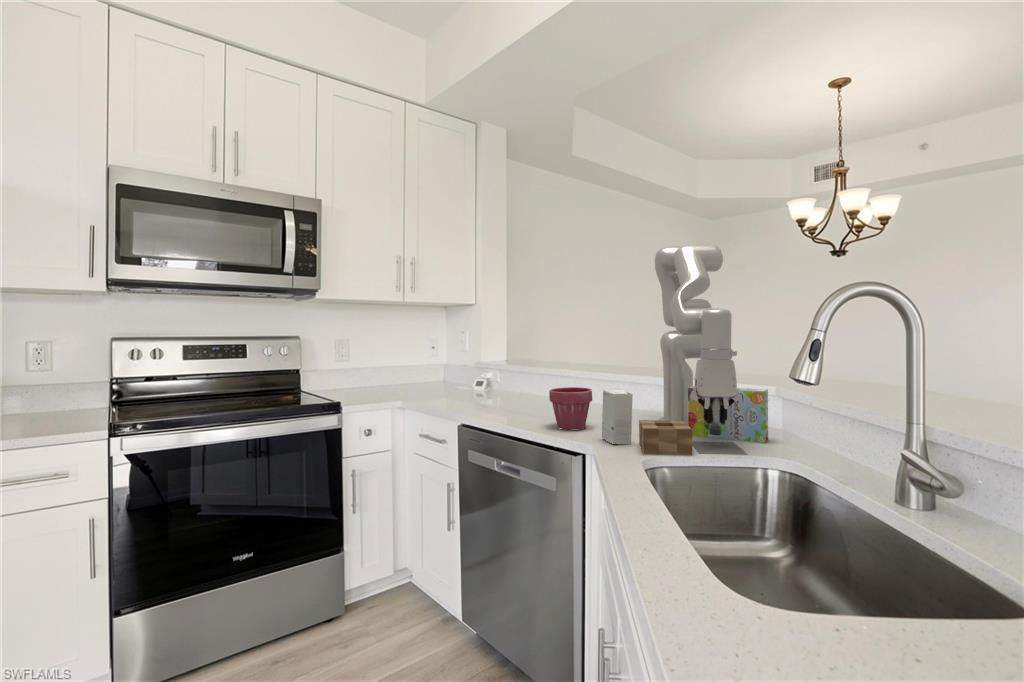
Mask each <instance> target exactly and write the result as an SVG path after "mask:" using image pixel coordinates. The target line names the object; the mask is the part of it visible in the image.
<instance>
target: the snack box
mask: <svg viewBox="0 0 1024 682" xmlns="http://www.w3.org/2000/svg"><path fill="white" fill-rule="evenodd" d="M694 386H695V385H693V386H692V387H689V388H688V426H689V427H690V428H691V429H692V437H693V436H695V437H700V438H701V437H702V438H711V439H721V440H731V441H738V442H739V441H740V442H747V443H758V444H767V442H768V441H769V390H768V389H765V388H743V387H737V390H738V391H739V393H740V395H741V397H742V398H741V399H740V400H738V401H736V402H734V403H733V404H732V405H731V406H730V407H729V408H728V409H727V420H725V424H722V423H721V435H711V434H709V424H708V423H707V422H706V420H704V407H703V406H702V405H701V404H700V403H699V402H697V401H695V400H693V399H691V398H690V395H691V393H692V391H693V389H694ZM697 396H698V397H699V398H701V399H702V400H703V397H700V396H699V395H698V394H697ZM728 399H729V398H728ZM721 405H722V404H721Z"/></svg>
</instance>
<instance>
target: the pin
mask: <svg viewBox="0 0 1024 682" xmlns="http://www.w3.org/2000/svg"><path fill="white" fill-rule="evenodd" d="M709 406H710V409H711V423H710V424H709V434H711V435H721V398H711V397H710V403H709Z"/></svg>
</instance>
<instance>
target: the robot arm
mask: <svg viewBox="0 0 1024 682" xmlns="http://www.w3.org/2000/svg"><path fill="white" fill-rule="evenodd" d="M723 261H724V256H723V252H722V250H721V248H720V247H719V246H717V245H716V244H690V245H689V244H688V245H683V246H682V245H681V246H679V245H677V246H676V245H674V246H665V247H662V248H660V249H658V251H656V253H655V256H654V269H655V273H656V276H657V279H658V281H659V285H660V288H661V297H662V300H661V301H662V302H661V303H662V315H663V322H664V324H665V325H667V326H668V327H671V328H675V330H670V331H667V332H664V333H663V335H661V337H660V350H661V357H662V365H663V367H662V368H663V370H662V371H663V373H662V374H663V417H660V418H659V419H658V420H678V421H684V422H685V423H686V424H687V425H688V388H689V387H692V386H694V389H693V391H692V393H691V395H690V398H691V399H693V400H695V401H697V402H699V403H700V404H701V405H702V406H703V407H704V420H706V422H707V423H708V424H710V423H711V409H710V406H709V403H710V397H711V398H721V404H722V405H721V423H722V424H725V420H727V409H728V408H729V407H730V406H731V405H732V404H733V403H734V402H736V401H738V400H740V399H741V398H742V397H741V395H740V393H739V391H738V390H737V388H738V385H737V384H738V383H737V374H736V373H737V371H736V367H735V361H734V360H733V359H732V358H733V357H736V356H737V355H738V351H737V350H733V348H732V321H733V320H732V319H733V318H732V312H731V311H730V310H729V309H725V308H715V307H714V308H713V307H712V305H711V303H710V302H709V301H708V300H706V299H703V298H696V297H698V296H700V295H702V294H704V293H705V292H706V291H707V290H708V289H709V288H710V285H711V278H710V277H709V272H713V273H714V272H718V271H719V270H720V269H721V268H722V265H723ZM689 359H692V360H693V359H697V361H696V366H695V372H694V373H693V369H692V367H691V366H690V365H689V364H688V362H687V361H686V360H689ZM694 375H695V376H694ZM697 394H698V395H699V396H700V397H703V400H702V399H701V398H699V397H698V396H697ZM728 398H729V399H728Z"/></svg>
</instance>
